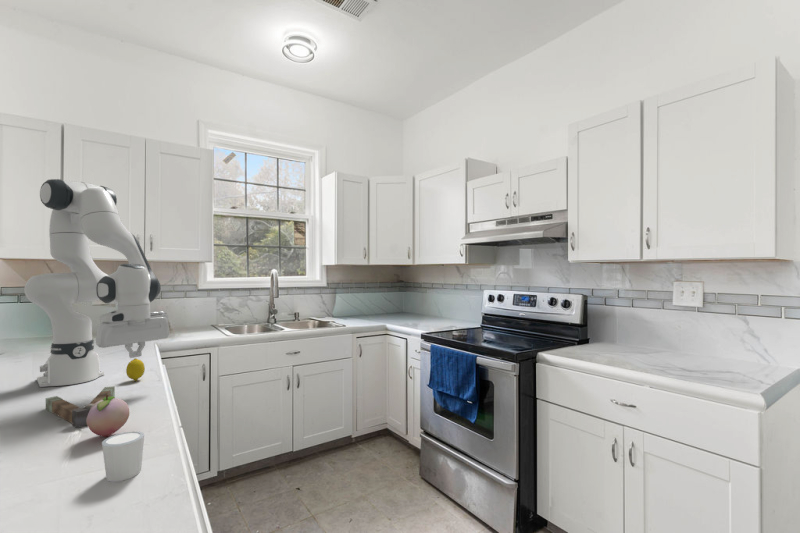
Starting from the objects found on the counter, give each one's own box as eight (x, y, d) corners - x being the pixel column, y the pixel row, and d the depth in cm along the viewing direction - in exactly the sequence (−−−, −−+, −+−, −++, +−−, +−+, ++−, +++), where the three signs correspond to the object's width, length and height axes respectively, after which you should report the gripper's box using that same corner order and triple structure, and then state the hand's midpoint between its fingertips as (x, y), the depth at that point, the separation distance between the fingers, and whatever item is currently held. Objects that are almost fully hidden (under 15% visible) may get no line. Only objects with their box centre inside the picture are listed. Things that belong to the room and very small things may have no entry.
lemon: (135, 383, 141) (135, 360, 141) (122, 382, 142) (122, 360, 142) (148, 378, 147) (148, 357, 147) (135, 378, 148) (135, 356, 148)
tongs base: (43, 409, 116) (43, 393, 116) (71, 403, 121) (70, 387, 121) (77, 428, 102) (76, 409, 102) (106, 419, 107) (106, 402, 107)
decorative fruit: (129, 439, 94) (128, 396, 95) (84, 448, 90) (84, 403, 90) (130, 426, 102) (129, 386, 102) (89, 433, 98) (89, 392, 98)
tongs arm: (97, 417, 108) (96, 405, 108) (85, 418, 107) (85, 407, 107) (114, 395, 127) (114, 386, 127) (105, 397, 126) (105, 387, 126)
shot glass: (116, 466, 82) (115, 431, 82) (151, 464, 82) (151, 430, 82) (93, 484, 75) (92, 446, 75) (132, 482, 75) (131, 444, 75)
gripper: (163, 310, 140) (164, 350, 140) (93, 317, 123) (94, 362, 123) (172, 310, 137) (173, 351, 137) (101, 317, 120) (102, 364, 120)
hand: (135, 357), depth 130 cm, fingers closed
